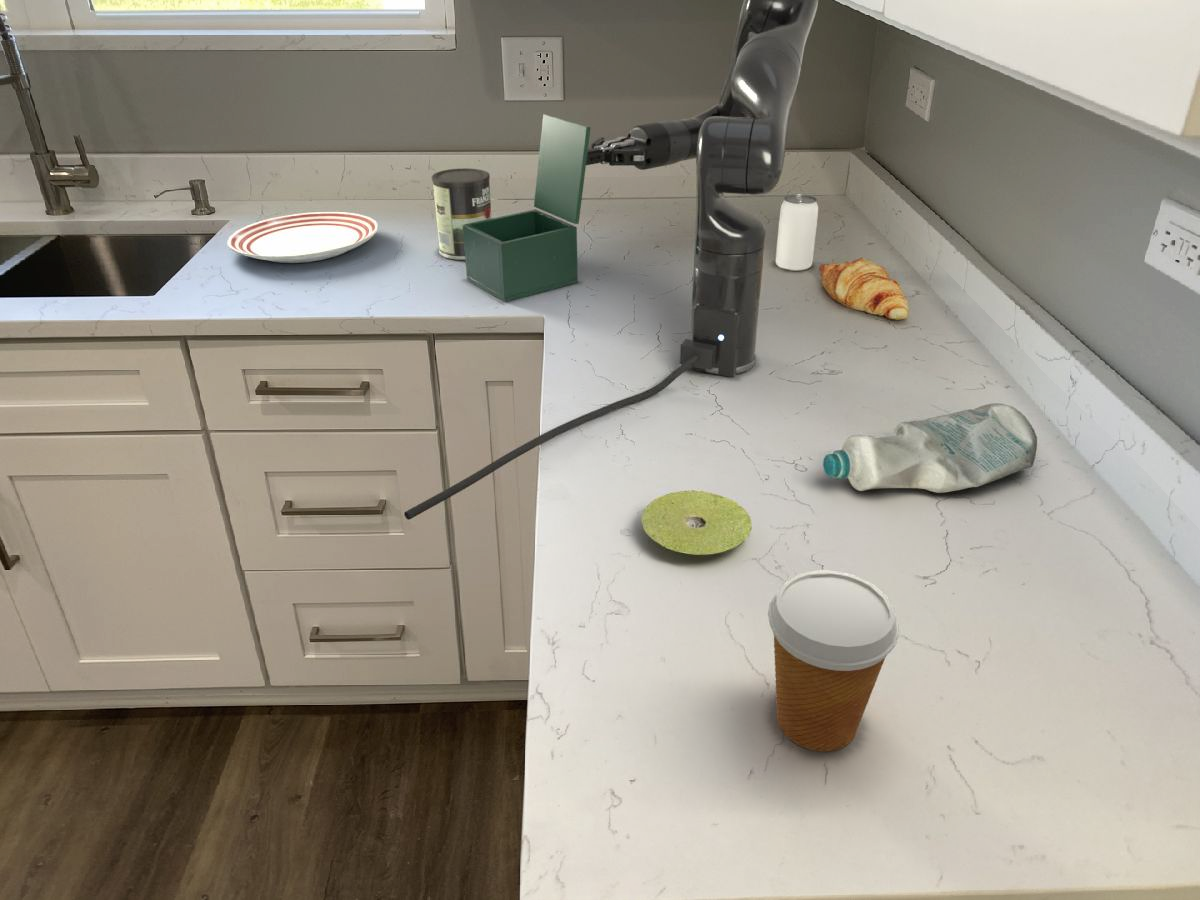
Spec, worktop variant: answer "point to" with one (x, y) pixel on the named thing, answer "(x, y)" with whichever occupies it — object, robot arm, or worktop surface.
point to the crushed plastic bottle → (939, 452)
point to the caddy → (520, 254)
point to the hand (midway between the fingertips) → (579, 158)
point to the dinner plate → (303, 236)
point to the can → (797, 232)
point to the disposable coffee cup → (828, 654)
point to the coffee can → (459, 206)
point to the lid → (561, 167)
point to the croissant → (865, 288)
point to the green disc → (696, 522)
